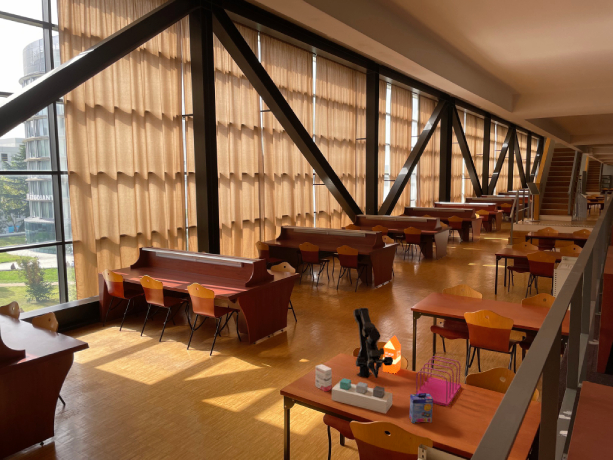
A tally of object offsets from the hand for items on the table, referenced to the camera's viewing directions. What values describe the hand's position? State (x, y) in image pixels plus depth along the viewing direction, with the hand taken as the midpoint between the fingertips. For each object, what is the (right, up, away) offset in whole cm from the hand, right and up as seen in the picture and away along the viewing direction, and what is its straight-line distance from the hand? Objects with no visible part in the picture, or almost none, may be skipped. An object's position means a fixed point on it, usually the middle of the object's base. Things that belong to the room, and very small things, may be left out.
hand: (376, 377), depth 245 cm
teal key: (-16, -7, +4) cm, 17 cm away
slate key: (-8, -7, 0) cm, 10 cm away
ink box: (-26, -11, +16) cm, 33 cm away
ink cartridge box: (+18, -15, -16) cm, 29 cm away
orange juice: (+14, -7, +38) cm, 41 cm away
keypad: (-8, -13, +1) cm, 15 cm away
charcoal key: (0, -8, -4) cm, 9 cm away
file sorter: (+34, -11, +10) cm, 38 cm away
